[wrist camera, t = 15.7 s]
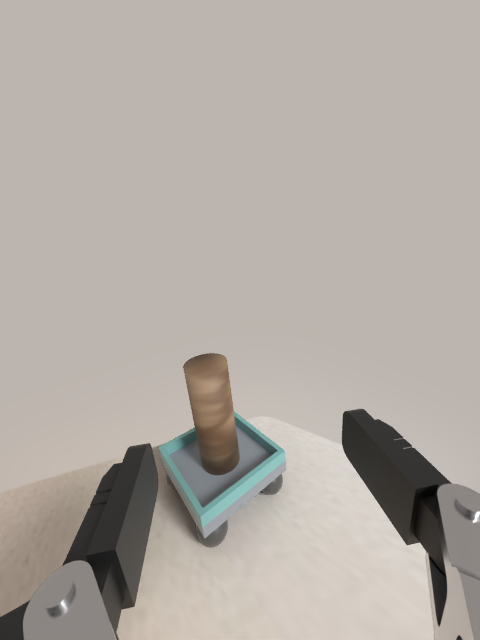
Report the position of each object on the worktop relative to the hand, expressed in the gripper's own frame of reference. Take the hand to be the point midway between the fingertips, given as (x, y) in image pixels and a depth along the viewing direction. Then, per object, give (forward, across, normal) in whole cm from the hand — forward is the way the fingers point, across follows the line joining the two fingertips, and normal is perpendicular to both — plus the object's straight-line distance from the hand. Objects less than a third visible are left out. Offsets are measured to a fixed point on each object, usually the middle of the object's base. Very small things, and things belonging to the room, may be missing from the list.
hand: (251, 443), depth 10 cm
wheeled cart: (+18, +2, +24) cm, 30 cm away
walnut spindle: (+18, +2, +19) cm, 26 cm away
